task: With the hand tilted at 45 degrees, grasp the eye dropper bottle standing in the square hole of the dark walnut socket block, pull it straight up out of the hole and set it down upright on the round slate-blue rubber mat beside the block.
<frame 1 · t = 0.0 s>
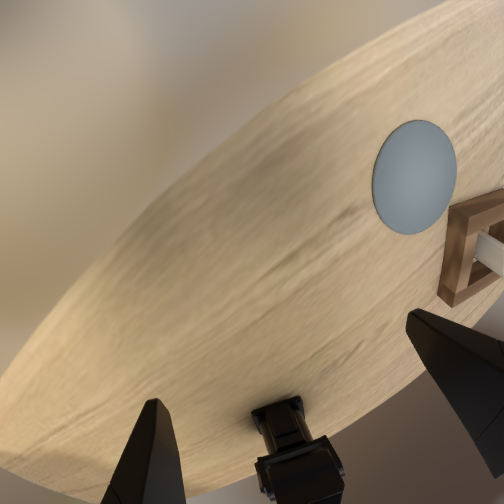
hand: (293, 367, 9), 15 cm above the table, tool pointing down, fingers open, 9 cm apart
walnut socket block: (473, 240, 31), on the table
eye dropper bottle: (472, 240, 31), resting in walnut socket block
slate-blue rubber mat: (418, 178, 25), on the table
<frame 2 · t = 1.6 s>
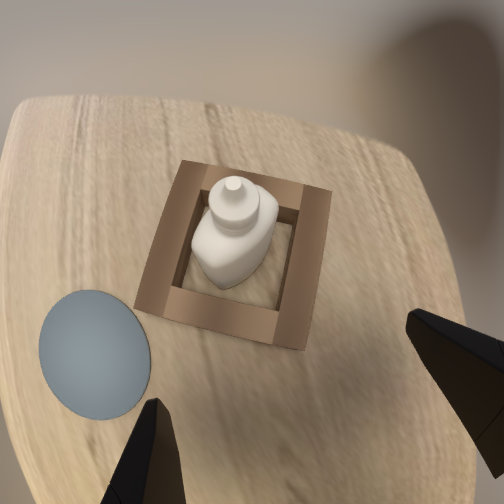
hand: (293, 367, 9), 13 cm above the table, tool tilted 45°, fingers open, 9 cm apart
walnut socket block: (237, 257, 24), on the table
eye dropper bottle: (237, 258, 24), resting in walnut socket block
slate-blue rubber mat: (90, 355, 21), on the table
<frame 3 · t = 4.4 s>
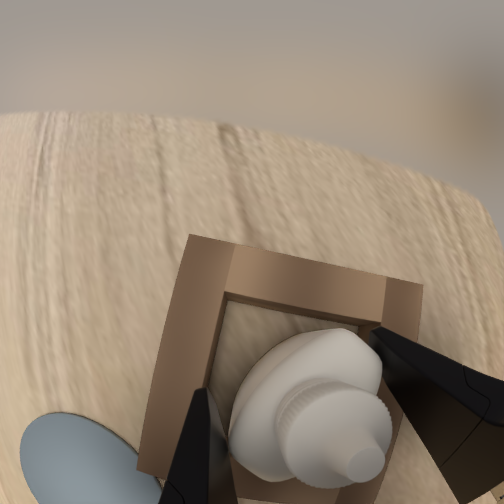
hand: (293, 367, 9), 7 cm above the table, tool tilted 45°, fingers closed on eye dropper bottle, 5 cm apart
walnut socket block: (281, 381, 15), on the table
eye dropper bottle: (280, 380, 15), resting in walnut socket block, touching gripper
slate-blue rubber mat: (86, 488, 12), on the table
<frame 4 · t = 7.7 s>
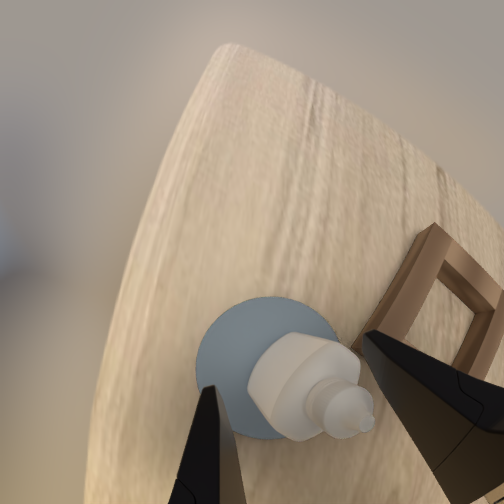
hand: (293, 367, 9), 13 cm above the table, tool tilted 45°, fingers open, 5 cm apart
walnut socket block: (436, 326, 22), on the table
eye dropper bottle: (278, 367, 21), point 1 cm above the table, touching slate-blue rubber mat
slate-blue rubber mat: (270, 370, 21), on the table
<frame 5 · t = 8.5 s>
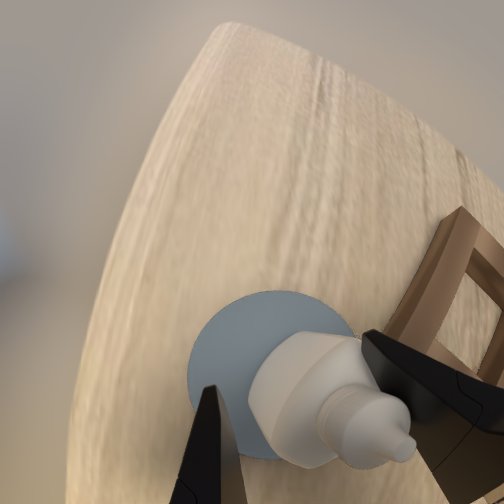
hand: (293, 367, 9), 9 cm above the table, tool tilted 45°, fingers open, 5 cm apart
walnut socket block: (463, 324, 19), on the table
eye dropper bottle: (285, 374, 17), resting on slate-blue rubber mat, touching gripper
slate-blue rubber mat: (277, 378, 18), on the table
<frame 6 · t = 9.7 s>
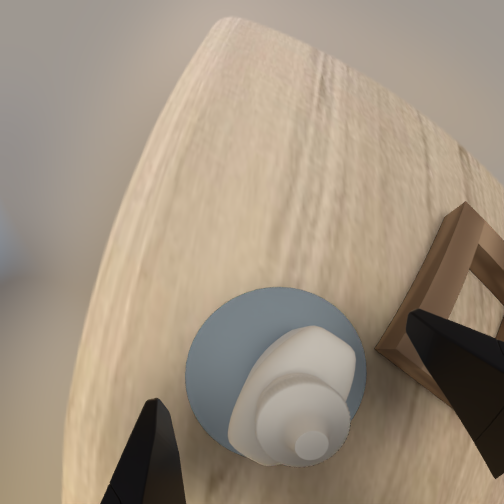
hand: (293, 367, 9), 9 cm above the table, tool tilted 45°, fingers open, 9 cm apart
walnut socket block: (467, 322, 18), on the table
eye dropper bottle: (282, 374, 17), resting on slate-blue rubber mat
slate-blue rubber mat: (278, 377, 17), on the table
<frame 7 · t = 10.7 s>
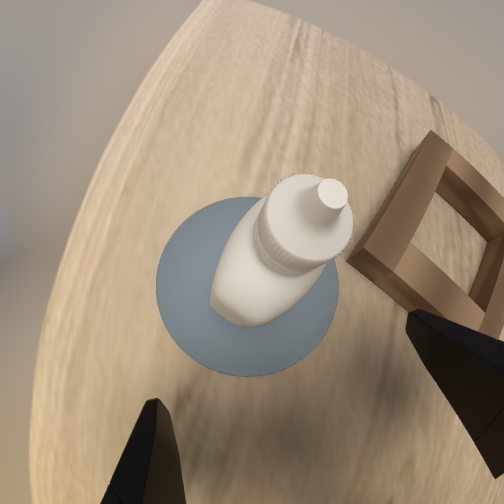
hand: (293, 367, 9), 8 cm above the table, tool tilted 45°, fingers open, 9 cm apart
walnut socket block: (445, 248, 19), on the table
eye dropper bottle: (250, 278, 18), resting on slate-blue rubber mat
slate-blue rubber mat: (247, 283, 18), on the table
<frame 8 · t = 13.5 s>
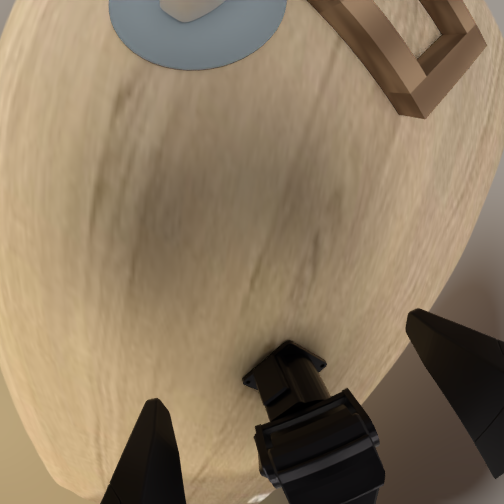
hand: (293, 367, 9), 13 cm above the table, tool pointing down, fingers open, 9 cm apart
walnut socket block: (398, 16, 16), on the table
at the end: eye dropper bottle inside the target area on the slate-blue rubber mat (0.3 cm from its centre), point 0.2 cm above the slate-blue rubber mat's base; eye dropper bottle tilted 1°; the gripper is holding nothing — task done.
